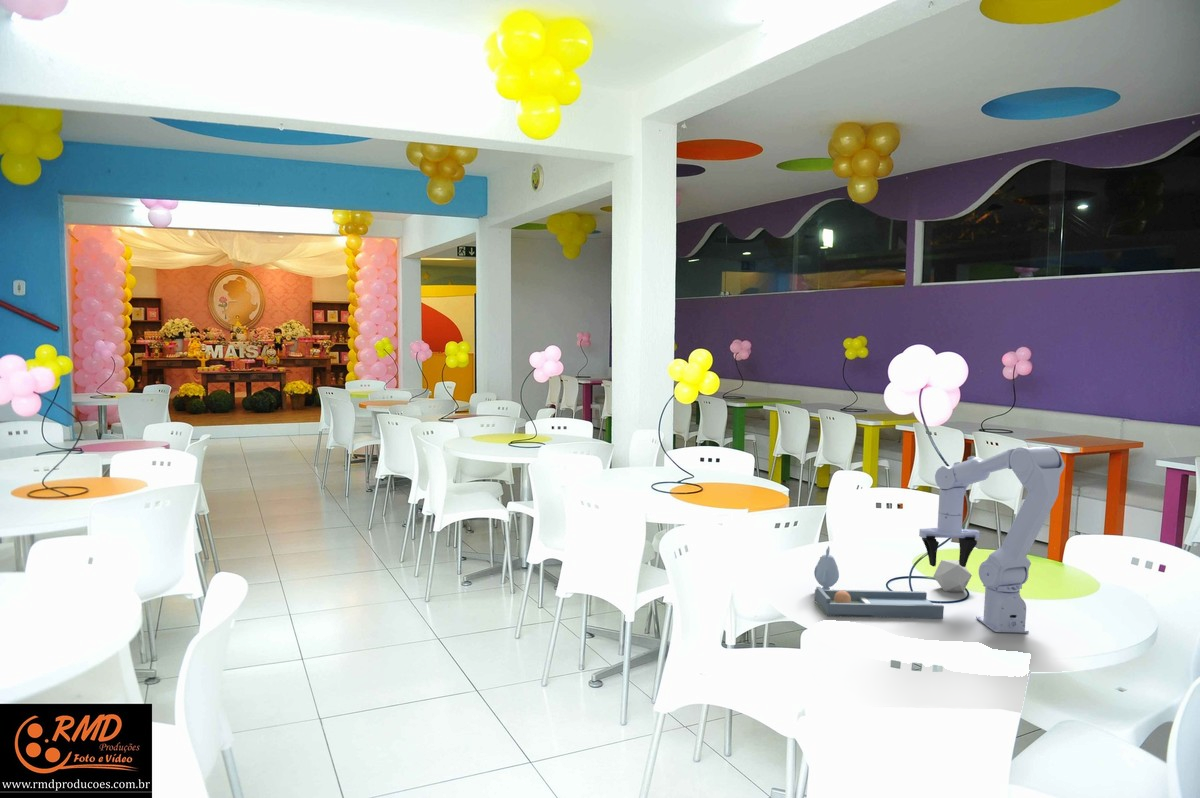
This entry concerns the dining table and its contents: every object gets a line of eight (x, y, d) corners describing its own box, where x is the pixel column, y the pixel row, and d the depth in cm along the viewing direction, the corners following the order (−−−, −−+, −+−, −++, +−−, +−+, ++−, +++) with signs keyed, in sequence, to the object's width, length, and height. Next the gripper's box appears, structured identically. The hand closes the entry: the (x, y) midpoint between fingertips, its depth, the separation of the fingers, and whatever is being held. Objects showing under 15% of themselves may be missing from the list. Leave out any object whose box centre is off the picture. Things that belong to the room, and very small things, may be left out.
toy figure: (816, 584, 217) (818, 541, 216) (840, 588, 215) (842, 544, 214) (810, 595, 208) (812, 550, 207) (835, 599, 205) (837, 553, 204)
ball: (855, 606, 196) (850, 591, 196) (840, 611, 196) (835, 596, 196) (849, 600, 200) (844, 586, 200) (834, 606, 200) (829, 591, 200)
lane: (943, 618, 193) (944, 602, 193) (826, 616, 193) (827, 599, 193) (924, 603, 204) (925, 587, 204) (814, 601, 204) (815, 585, 204)
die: (966, 599, 210) (981, 568, 212) (936, 581, 211) (952, 550, 213) (952, 600, 217) (967, 570, 220) (923, 583, 219) (939, 553, 221)
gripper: (971, 510, 208) (968, 561, 209) (915, 509, 208) (912, 560, 209) (984, 516, 201) (981, 569, 202) (926, 515, 201) (924, 568, 202)
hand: (947, 565), depth 205 cm, fingers open, 7 cm apart
